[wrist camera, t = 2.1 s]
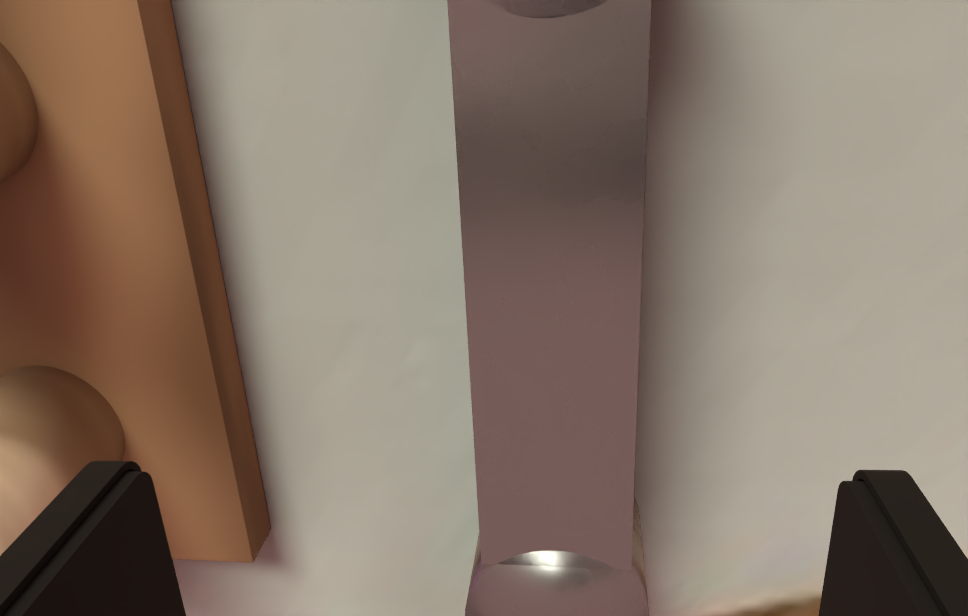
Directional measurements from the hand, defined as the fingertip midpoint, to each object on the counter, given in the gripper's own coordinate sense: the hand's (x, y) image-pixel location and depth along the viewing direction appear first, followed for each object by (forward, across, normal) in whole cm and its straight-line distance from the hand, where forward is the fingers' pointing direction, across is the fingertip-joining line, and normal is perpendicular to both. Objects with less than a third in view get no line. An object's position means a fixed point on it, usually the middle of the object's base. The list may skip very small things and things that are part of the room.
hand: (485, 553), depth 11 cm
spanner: (+11, -1, 0) cm, 11 cm away
